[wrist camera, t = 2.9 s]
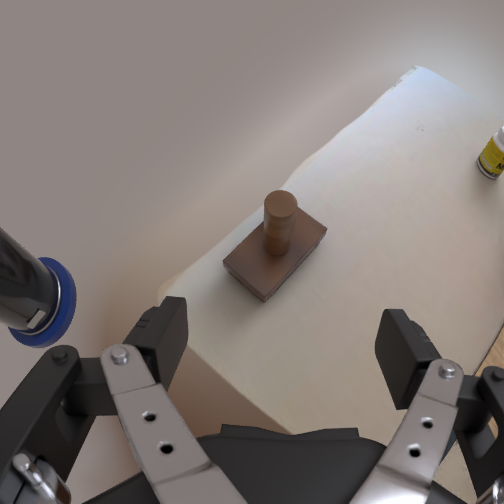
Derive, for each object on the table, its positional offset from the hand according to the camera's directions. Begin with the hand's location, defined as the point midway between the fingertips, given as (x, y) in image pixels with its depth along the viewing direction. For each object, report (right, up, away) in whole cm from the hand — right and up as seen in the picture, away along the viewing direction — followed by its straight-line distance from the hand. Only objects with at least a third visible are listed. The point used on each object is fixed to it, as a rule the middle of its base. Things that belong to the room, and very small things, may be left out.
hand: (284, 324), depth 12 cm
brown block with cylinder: (+1, +2, +21) cm, 22 cm away
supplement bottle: (+37, +16, +28) cm, 49 cm away
